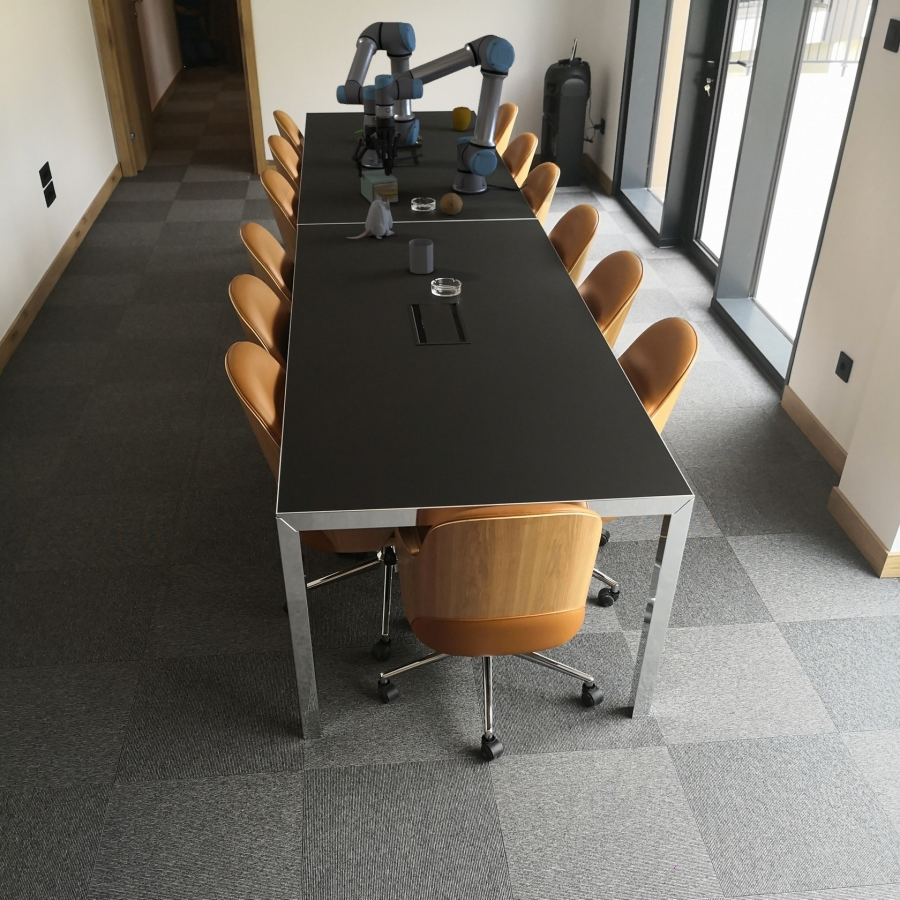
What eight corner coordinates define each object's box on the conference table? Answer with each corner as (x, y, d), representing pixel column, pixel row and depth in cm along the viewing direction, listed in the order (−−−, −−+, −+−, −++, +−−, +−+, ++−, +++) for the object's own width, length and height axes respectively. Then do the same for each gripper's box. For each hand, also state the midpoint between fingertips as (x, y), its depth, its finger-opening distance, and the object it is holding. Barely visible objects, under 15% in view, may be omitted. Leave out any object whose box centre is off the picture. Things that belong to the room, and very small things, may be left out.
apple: (471, 132, 486) (471, 108, 479) (451, 132, 486) (451, 108, 479) (470, 128, 495) (471, 104, 488) (452, 128, 495) (452, 104, 488)
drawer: (401, 204, 371) (401, 186, 366) (378, 206, 367) (378, 188, 363) (386, 190, 387) (386, 173, 383) (364, 193, 384) (363, 175, 380)
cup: (409, 265, 311) (408, 238, 306) (432, 265, 312) (431, 238, 307) (410, 274, 304) (409, 246, 299) (433, 273, 305) (433, 246, 299)
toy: (399, 234, 340) (398, 196, 332) (354, 249, 326) (352, 209, 317) (384, 229, 345) (382, 191, 337) (338, 243, 331) (336, 204, 323)
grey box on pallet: (397, 201, 377) (397, 179, 372) (372, 204, 373) (371, 181, 368) (385, 191, 391) (384, 169, 385) (361, 193, 387) (360, 171, 382)
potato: (461, 208, 368) (461, 189, 364) (463, 218, 357) (464, 199, 352) (438, 208, 368) (438, 190, 364) (440, 219, 356) (440, 199, 352)
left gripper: (347, 128, 362) (350, 180, 374) (403, 124, 370) (405, 174, 381) (342, 125, 368) (345, 175, 380) (398, 120, 376) (399, 170, 387)
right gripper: (372, 119, 347) (375, 178, 360) (403, 116, 351) (404, 175, 364) (367, 115, 353) (369, 174, 366) (397, 113, 357) (399, 171, 370)
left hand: (375, 175), depth 381 cm, fingers open, 13 cm apart
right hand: (387, 174), depth 365 cm, fingers closed
